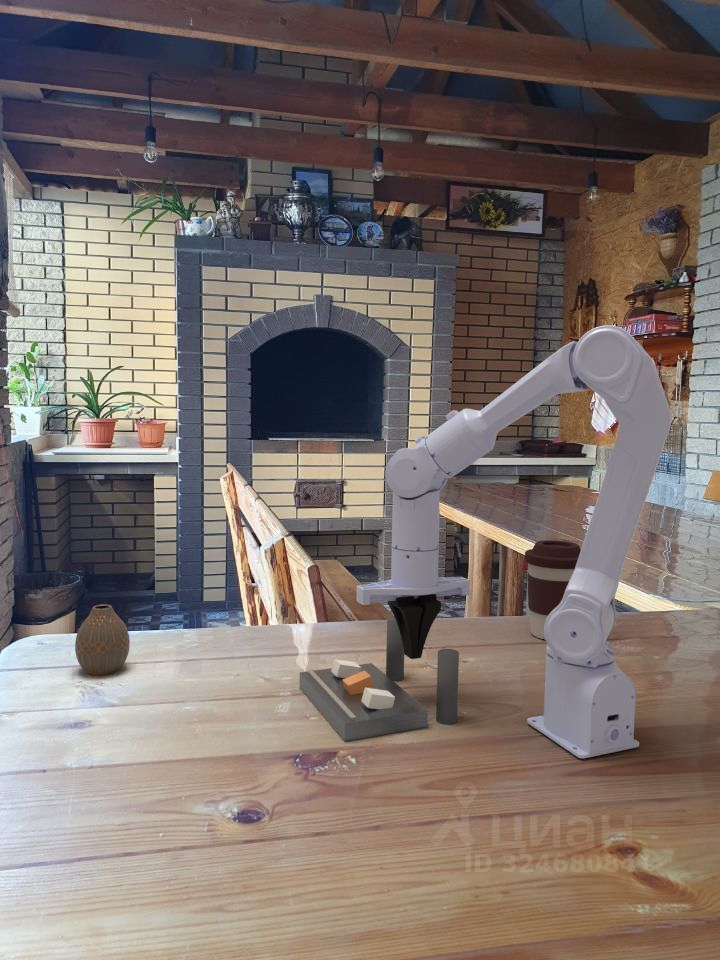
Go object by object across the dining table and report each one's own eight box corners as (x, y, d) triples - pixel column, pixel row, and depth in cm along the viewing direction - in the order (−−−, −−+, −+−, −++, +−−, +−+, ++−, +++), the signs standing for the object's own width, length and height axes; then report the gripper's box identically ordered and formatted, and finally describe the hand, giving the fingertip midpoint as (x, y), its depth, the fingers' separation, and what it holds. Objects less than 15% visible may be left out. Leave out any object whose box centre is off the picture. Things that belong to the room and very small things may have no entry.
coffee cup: (593, 646, 109) (598, 550, 107) (529, 644, 109) (533, 548, 108) (575, 626, 119) (579, 538, 117) (516, 625, 119) (519, 537, 117)
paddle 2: (391, 710, 80) (395, 697, 80) (368, 708, 78) (371, 694, 79) (384, 704, 82) (387, 690, 82) (361, 701, 80) (364, 687, 80)
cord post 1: (406, 679, 94) (408, 620, 93) (390, 681, 93) (391, 622, 92) (399, 673, 96) (400, 615, 95) (382, 675, 95) (384, 617, 94)
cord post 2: (460, 722, 81) (462, 654, 80) (442, 725, 80) (444, 656, 79) (450, 714, 83) (452, 647, 82) (432, 717, 82) (434, 650, 81)
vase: (138, 662, 98) (137, 601, 98) (116, 681, 92) (115, 614, 91) (90, 660, 99) (89, 598, 98) (65, 678, 92) (64, 612, 91)
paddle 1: (358, 679, 89) (361, 667, 89) (336, 676, 88) (339, 664, 88) (352, 674, 91) (355, 662, 91) (331, 671, 90) (334, 659, 90)
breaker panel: (427, 727, 79) (428, 707, 79) (344, 741, 76) (344, 720, 75) (371, 677, 94) (371, 660, 94) (299, 687, 90) (299, 670, 90)
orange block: (374, 688, 84) (371, 676, 84) (351, 697, 83) (348, 685, 83) (367, 682, 86) (364, 670, 86) (345, 691, 85) (342, 679, 85)
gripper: (450, 538, 92) (448, 640, 93) (347, 544, 87) (346, 652, 88) (479, 548, 86) (476, 657, 87) (370, 555, 80) (368, 671, 81)
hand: (412, 656), depth 87 cm, fingers closed
